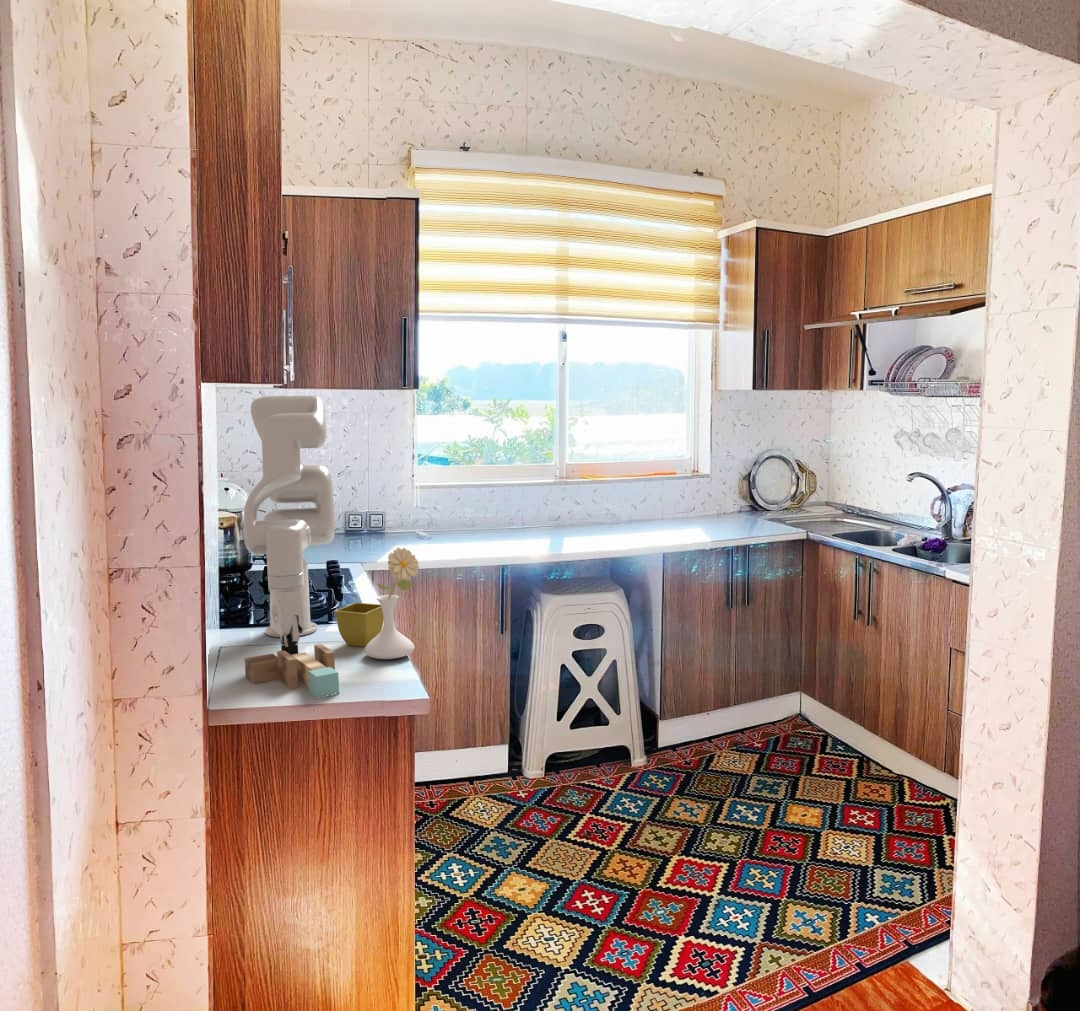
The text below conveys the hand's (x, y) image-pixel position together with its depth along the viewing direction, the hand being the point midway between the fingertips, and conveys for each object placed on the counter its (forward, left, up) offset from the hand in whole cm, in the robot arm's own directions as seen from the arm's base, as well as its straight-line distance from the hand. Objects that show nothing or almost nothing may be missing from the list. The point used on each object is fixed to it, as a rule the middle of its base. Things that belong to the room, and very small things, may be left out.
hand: (290, 662), depth 189 cm
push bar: (+12, 0, -1) cm, 12 cm away
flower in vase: (+6, +22, -1) cm, 23 cm away
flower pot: (-8, +20, -1) cm, 21 cm away
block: (+22, 0, -1) cm, 22 cm away
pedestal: (+4, -7, -1) cm, 8 cm away
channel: (+11, 0, -1) cm, 11 cm away
